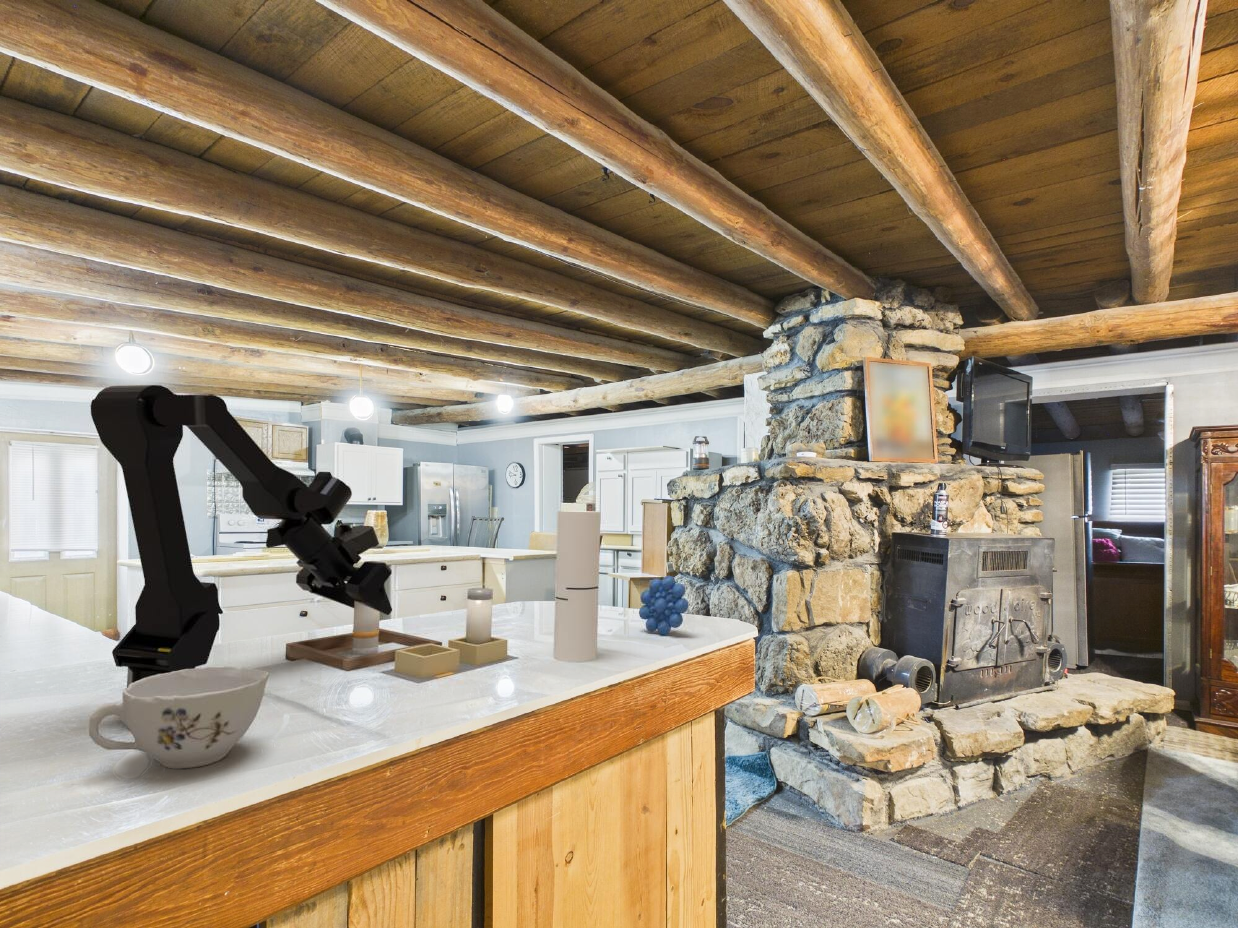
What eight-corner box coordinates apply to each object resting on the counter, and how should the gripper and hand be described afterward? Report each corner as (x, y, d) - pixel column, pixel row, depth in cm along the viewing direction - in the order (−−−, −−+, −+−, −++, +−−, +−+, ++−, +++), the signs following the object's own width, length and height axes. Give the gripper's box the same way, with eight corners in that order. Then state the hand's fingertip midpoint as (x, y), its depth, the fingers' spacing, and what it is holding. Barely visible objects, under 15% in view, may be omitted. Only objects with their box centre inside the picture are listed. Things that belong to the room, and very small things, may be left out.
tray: (347, 677, 100) (347, 660, 100) (285, 658, 110) (286, 643, 110) (441, 657, 114) (442, 642, 114) (379, 642, 124) (379, 628, 124)
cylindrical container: (590, 669, 108) (594, 512, 109) (547, 666, 109) (552, 511, 110) (600, 659, 115) (604, 511, 116) (560, 656, 116) (564, 510, 117)
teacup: (245, 728, 78) (249, 657, 78) (280, 761, 69) (284, 681, 69) (78, 761, 68) (83, 679, 68) (93, 804, 58) (99, 710, 59)
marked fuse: (361, 658, 109) (364, 589, 110) (346, 654, 111) (349, 586, 112) (383, 654, 112) (386, 587, 113) (368, 650, 115) (371, 584, 115)
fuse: (476, 662, 106) (478, 591, 107) (459, 658, 109) (462, 589, 109) (495, 658, 110) (498, 589, 110) (478, 654, 112) (481, 587, 113)
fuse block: (418, 690, 94) (419, 661, 95) (379, 678, 100) (380, 651, 100) (519, 663, 111) (520, 638, 111) (481, 655, 116) (482, 631, 116)
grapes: (698, 635, 137) (699, 575, 138) (680, 640, 132) (681, 578, 132) (651, 627, 144) (652, 571, 145) (632, 632, 139) (633, 573, 139)
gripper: (383, 510, 104) (438, 577, 113) (316, 507, 115) (371, 568, 124) (333, 565, 98) (396, 631, 106) (267, 556, 108) (329, 617, 117)
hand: (373, 609), depth 113 cm, fingers open, 9 cm apart
